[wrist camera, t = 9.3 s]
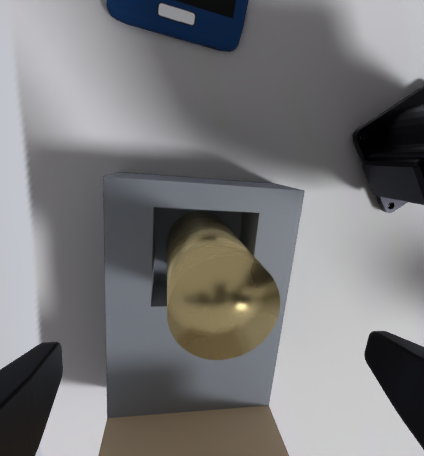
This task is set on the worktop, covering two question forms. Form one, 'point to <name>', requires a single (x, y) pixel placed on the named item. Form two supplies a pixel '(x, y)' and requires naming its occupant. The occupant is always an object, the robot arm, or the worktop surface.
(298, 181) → the worktop surface
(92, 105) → the worktop surface
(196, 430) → the socket block
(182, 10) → the cell phone
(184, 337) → the peg
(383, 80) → the worktop surface
